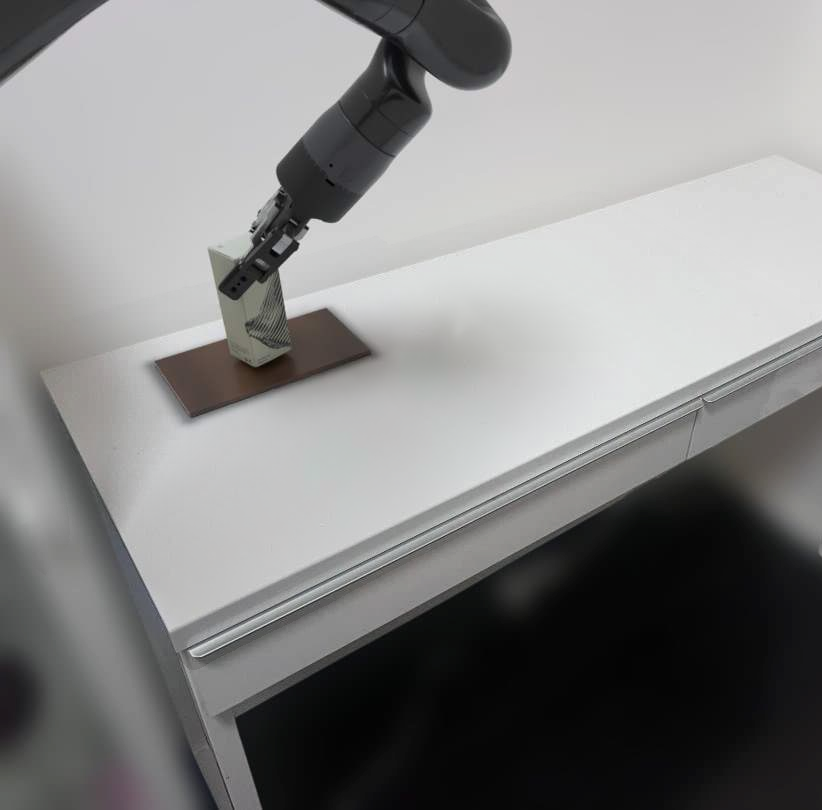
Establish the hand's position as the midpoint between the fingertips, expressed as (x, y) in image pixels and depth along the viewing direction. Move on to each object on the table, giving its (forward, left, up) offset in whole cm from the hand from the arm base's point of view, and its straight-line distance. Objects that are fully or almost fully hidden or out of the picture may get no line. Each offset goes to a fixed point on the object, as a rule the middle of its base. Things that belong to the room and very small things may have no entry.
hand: (232, 276), depth 82 cm
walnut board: (+1, -1, -10) cm, 10 cm away
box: (+1, -1, -9) cm, 10 cm away
